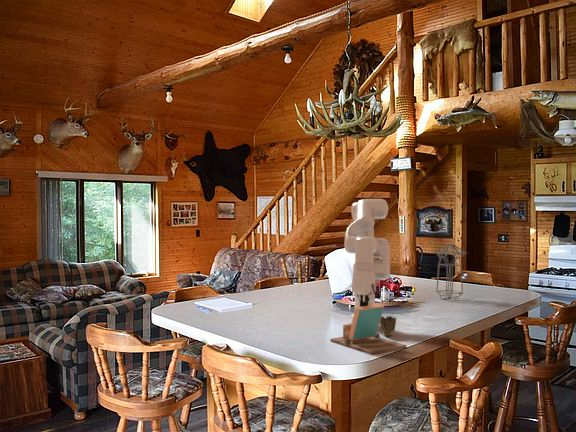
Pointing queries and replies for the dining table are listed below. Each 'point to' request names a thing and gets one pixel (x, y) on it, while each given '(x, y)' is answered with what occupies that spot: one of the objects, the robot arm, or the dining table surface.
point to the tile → (366, 321)
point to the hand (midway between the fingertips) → (363, 310)
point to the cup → (387, 325)
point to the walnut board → (367, 343)
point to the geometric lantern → (450, 268)
